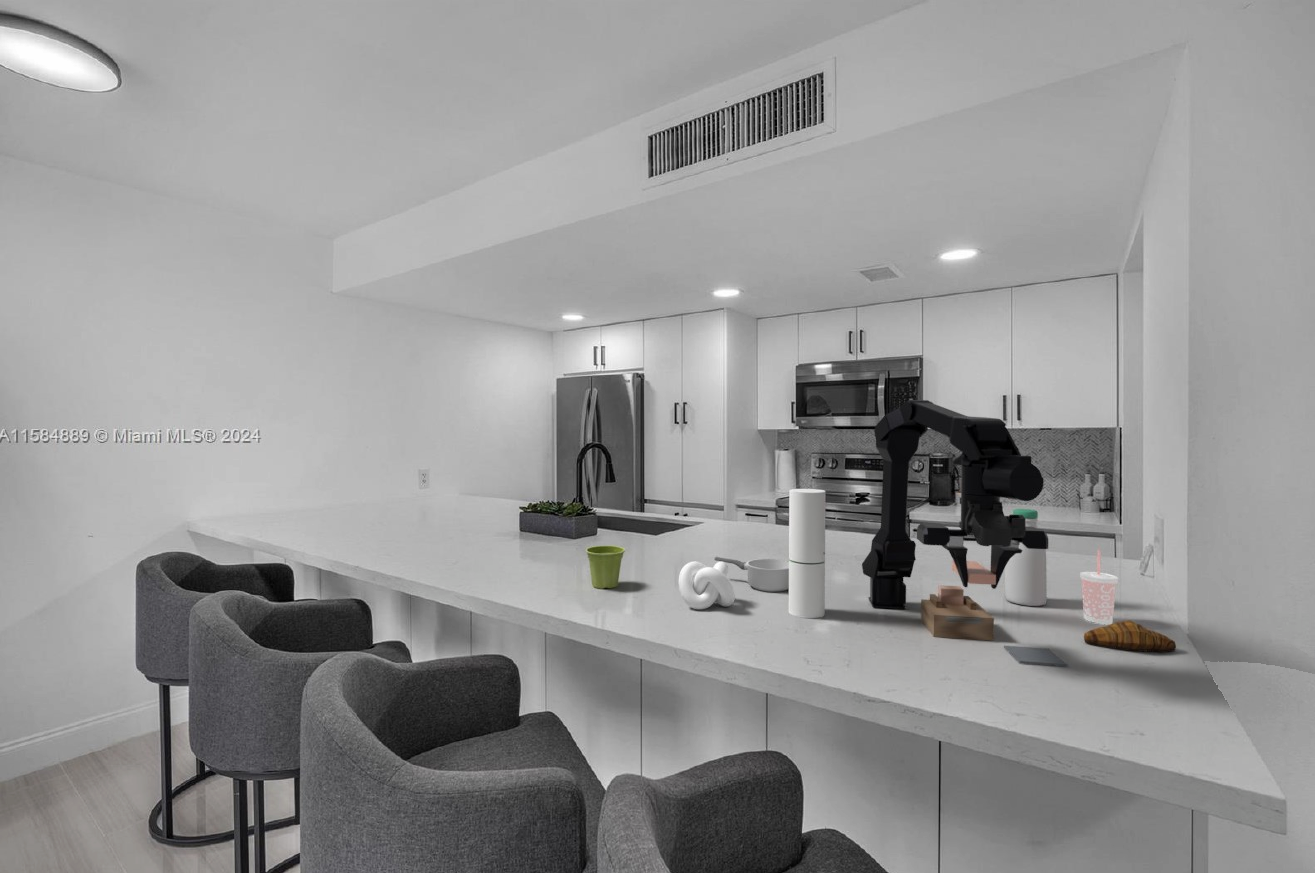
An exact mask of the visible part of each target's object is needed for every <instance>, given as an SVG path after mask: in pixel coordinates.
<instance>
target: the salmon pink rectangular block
mask: <svg viewBox="0 0 1315 873" xmlns="http://www.w3.org/2000/svg"><path fill="white" fill-rule="evenodd" d="M951 564H952V565H951V566H952V568H951V569H952V571H954V572H955V573H956V574H957V575H958V576H959V573H958V570H957V568H956V565H955V563H954V560H952V561H951ZM967 572H968V584H974V585H991V584H992V585H996V575H995V574H994V573H992V572H991V571H990V570H989V569H988V568H986V567H985V566H984V565H982V564H980V563H979V562H978V561H971V560H969V561H967Z"/></svg>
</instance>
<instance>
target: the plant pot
mask: <svg viewBox="0 0 1315 873" xmlns="http://www.w3.org/2000/svg"><path fill="white" fill-rule="evenodd" d="M625 552H626V548H625V547H622V546H617V545H594V546H589V547H587V548H586V549H585V553H587V554H586V556H587V558H588V561H589V570H590V578H591V585H592V587H594V588H596V589H602V590H603V589H605V588H608V589H614V588H616V587H618V585H619V580H620V573H621V572H620V571H621V565H622V564H621V563H622V559H623V556H624V553H625Z"/></svg>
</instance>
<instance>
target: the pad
mask: <svg viewBox="0 0 1315 873" xmlns="http://www.w3.org/2000/svg"><path fill="white" fill-rule="evenodd" d="M1004 648H1005V649H1006V650H1007V651H1009V653H1008V654H1009V655H1011V657H1013V659H1014V660H1015V661H1017V663H1019V664H1020V663H1024V665H1034V664H1038V665H1039V664H1040V665H1039V666H1049V665H1058V666H1057V667H1063V666H1068V665H1069V664H1068V663H1067V662H1065V661H1064V660H1063V659H1062V658H1061V657H1060V656H1059V655H1057V654H1056V653H1054V652H1053V651H1052V650H1051V649H1050V648H1047V647H1034V646H1033V647H1032V646H1031V647H1029V646H1018V645H1017V646H1016V645H1003V649H1004ZM1005 649H1004V650H1005ZM1006 650H1005V651H1006ZM1007 651H1006V652H1007ZM1025 663H1026V664H1025Z"/></svg>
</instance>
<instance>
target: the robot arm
mask: <svg viewBox="0 0 1315 873" xmlns="http://www.w3.org/2000/svg"><path fill="white" fill-rule="evenodd" d="M1006 426H1007V424H1006V423H1005V421H1003V420H1002V418H1001V419H1000V418H997V417H996V418H995V417H994V418H993V417H986V416H984V417H983V416H968V415H965V414H962V413H959V412H957V411H955V410H952V409H948V408H946V407H944V406H941V405H937V404H935V403H933V402H932V401H930V400H927V399H925V400H924V399H909V400H906V401H905V402H903V403H902V404H901V406H900V407H898V408H896V409H895V410H893V411H890V412H889V413H886V414H885V415H884V416H883V417H882V418H881V419H880V420H879V422H878V423H876V425H875V427H874V436H875V437H874V438H875V448H876V449H877V452H878V453H879V455H880V457H881V458H882V462H883V463H882V464H883V465H882V466H883V467H882V484H881V485H882V487H881V490H882V491H881V512H880V513H881V515H880V528H879V529H878V531H877V532H876V533H875V535H874V537H873V539H871V547H870V552H869V553H868V554H867V556H866V557H865V559H864V560H863V562H862V564H861V567H862V569H861V570H862V573H863V575H865V576H867V577H868V578H869V579H870V580H869V581H870V582H869V587H870V588H869V596H868V597H867V598H868V601H869V603H870V605H871V607H872V608H877V609H897V610H905V609H906V606H905V605H906V604H907V585H906V584H905V582H904V578H911V577H912V572H913V568H914V565H915V561H916V547H917V546H916V544H917V543H916V542H915V540H912V538H911V537H910V536H909V534H908V532H907V513H908V512H907V510H908V493H909V492H908V489H909V468H910V461H911V460H912V458H914V455H915V454H916V453H917V451H918V449H919V444H920V438H921V437H923V435H925V434H926V433H927V432H928V431H929V429H930V430H933V431H935V432H938V433H940V434H941V435H944V436H946V437H947V438H948V440H949V443H950V445H952V446H953V447H954V448H955V449H957V450H958V451H959V452H960V453H961V454H960V455H959V456H958V457H956V458H955V459H954V460H953V465H956V466H961V467H960V469H961V470H960V471H961V472H960V473H961V474H960V478H961V479H960V492H961V493H960V497H959V505H960V521H959V523H958V525H959V526H958V527H959V528H960V529H956V528H953V529H951V528H949V527H947V526H946V525H944V524H942V523H923V522H922V523H920V524H918V526H917V529H916V540H918V541H919V542H920V543H921V544H922V545H927V546H941V547H942V548H944V549H946V550H947V551H948V553H949V554H950V557H951V558H952V561H954V563H955V565H956V568H957V570H958V573H959V575H958V576H959V578H960V580H961V583H962V586H963V587H964V588H968V587H969V583H968V572H967V555H968V548H967V547H966V546H964V542H976V543H977V544H978V546H979V545H980V546H982V547H990V570H989V571H991V572H992V573H994V574H995V575H996V585H992V584H990V587H991V588H992V590H996V589H997V586H998V585H999V582H1000V580H1001V577H1002V575H1003V573H1004V571H1005V566H1006V564H1007V563H1008V561H1009V560H1010V558H1011V557H1012V556H1014V555H1015V554H1016V553H1022V550H1021V549H1019V545H1020V543H1022V544H1023V545H1024V546H1025V547H1026V548H1028V549H1046V550H1049V536H1048V534H1047V533H1046V532H1045V531H1044V530H1042V529H1039V528H1038V527H1037V528H1038V529H1037V528H1035V527H1026V524H1025V518H1024V516H1023V515H1013V514H1009V515H1005V513H1004V511H1003V508H1004V506H1003V502H1002V501H1001V498H1004V499H1010V500H1017V501H1023V502H1029V501H1030V502H1031V501H1033V500H1034V499H1036V498H1038V497H1039V495H1041V493H1042V491H1043V488H1044V483H1045V482H1044V481H1045V480H1044V477H1043V476H1042V473H1041V471H1040V470H1039V468H1038V467H1037V466H1036V465H1035V464H1033V463H1032V456H1031V455H1022V454H1021V452H1020V449H1019V447H1018V446H1017V444H1016V443H1015V441H1014V439H1013V437H1012V435H1011V434H1010V432H1009V430H1008V428H1007V427H1006Z"/></svg>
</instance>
